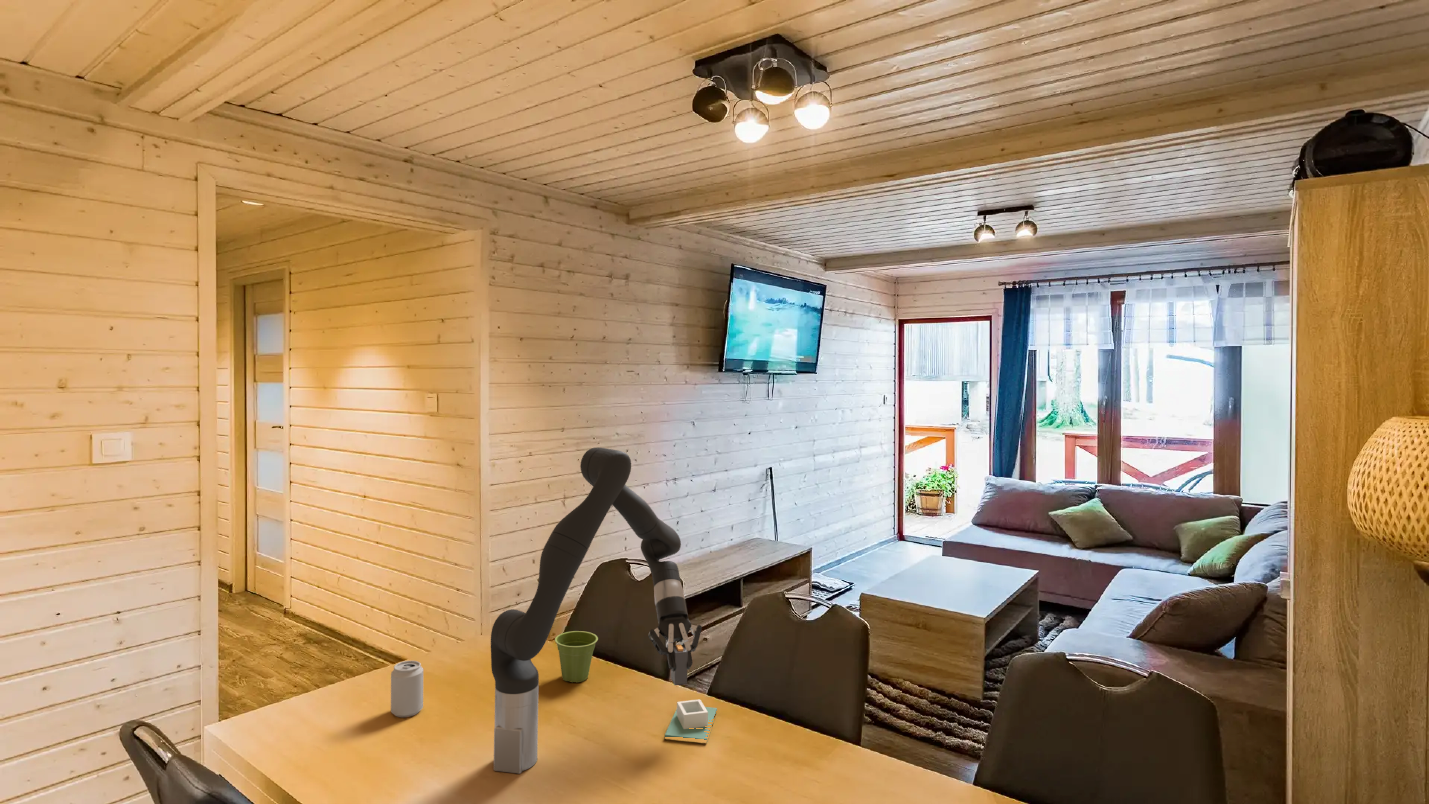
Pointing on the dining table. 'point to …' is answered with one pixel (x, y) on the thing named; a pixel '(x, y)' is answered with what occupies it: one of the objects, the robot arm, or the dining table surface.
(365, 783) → the dining table surface
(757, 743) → the dining table surface
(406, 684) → the can
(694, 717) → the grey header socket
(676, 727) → the green board
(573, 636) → the plant pot
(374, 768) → the dining table surface
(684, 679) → the dark grey rectangular block
